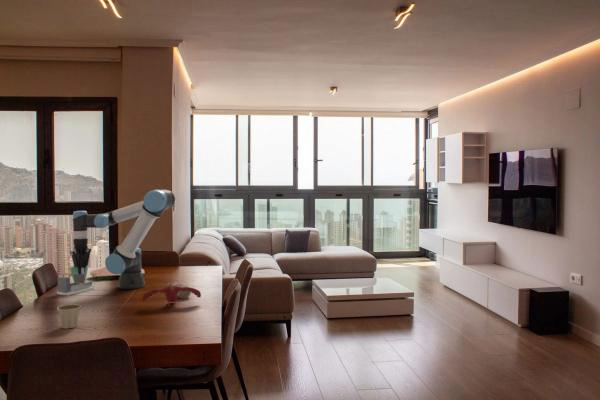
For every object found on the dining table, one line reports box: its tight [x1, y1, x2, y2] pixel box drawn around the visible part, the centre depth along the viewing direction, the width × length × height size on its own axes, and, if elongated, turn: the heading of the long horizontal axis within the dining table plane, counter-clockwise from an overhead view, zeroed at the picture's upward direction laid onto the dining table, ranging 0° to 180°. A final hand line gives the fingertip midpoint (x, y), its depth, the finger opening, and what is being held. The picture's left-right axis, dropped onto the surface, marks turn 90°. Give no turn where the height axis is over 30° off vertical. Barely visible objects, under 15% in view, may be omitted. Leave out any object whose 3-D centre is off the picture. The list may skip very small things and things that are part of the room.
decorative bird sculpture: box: [142, 286, 202, 307], centre depth 254 cm, size 28×9×15 cm
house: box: [89, 266, 145, 281], centre depth 331 cm, size 23×33×8 cm
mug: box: [69, 266, 89, 281], centre depth 310 cm, size 15×10×10 cm
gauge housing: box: [56, 276, 95, 297], centre depth 286 cm, size 18×8×10 cm, turn 153°
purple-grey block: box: [70, 273, 86, 286], centre depth 287 cm, size 5×8×8 cm, turn 63°
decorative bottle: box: [165, 281, 192, 300], centre depth 279 cm, size 26×8×7 cm, turn 35°
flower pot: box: [56, 304, 82, 329], centre depth 219 cm, size 9×9×9 cm
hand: (81, 278), depth 290 cm, fingers closed
